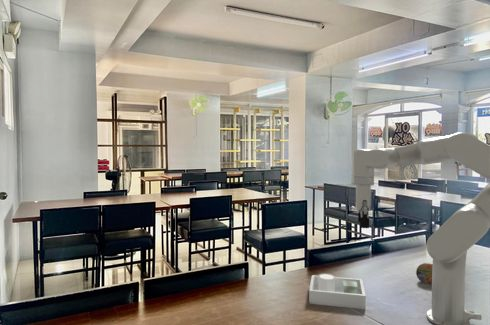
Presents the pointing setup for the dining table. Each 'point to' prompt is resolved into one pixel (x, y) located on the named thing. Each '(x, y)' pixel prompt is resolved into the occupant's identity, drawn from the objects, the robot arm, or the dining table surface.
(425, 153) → the robot arm
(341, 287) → the tote
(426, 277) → the tin
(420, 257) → the dining table surface
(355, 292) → the cube
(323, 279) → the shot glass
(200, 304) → the dining table surface
